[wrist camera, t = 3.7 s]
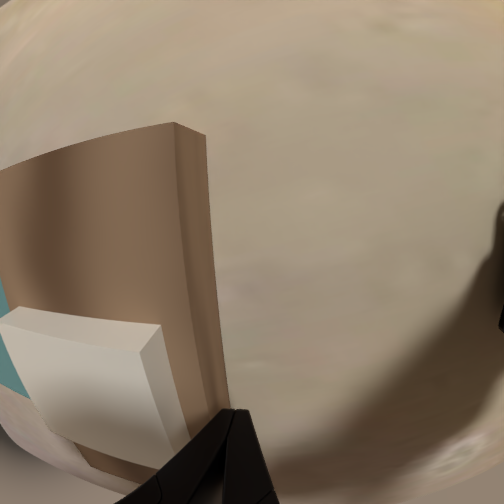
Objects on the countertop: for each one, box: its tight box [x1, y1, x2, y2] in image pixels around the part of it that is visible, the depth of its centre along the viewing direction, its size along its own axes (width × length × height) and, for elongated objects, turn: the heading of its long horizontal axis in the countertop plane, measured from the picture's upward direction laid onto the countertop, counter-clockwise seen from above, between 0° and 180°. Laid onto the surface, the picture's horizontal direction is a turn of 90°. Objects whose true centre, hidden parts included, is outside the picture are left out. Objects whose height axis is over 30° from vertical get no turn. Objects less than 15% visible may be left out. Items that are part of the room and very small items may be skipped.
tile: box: [0, 306, 191, 469], centre depth 9 cm, size 7×6×2 cm
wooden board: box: [0, 122, 231, 484], centre depth 11 cm, size 9×17×3 cm, turn 3°
